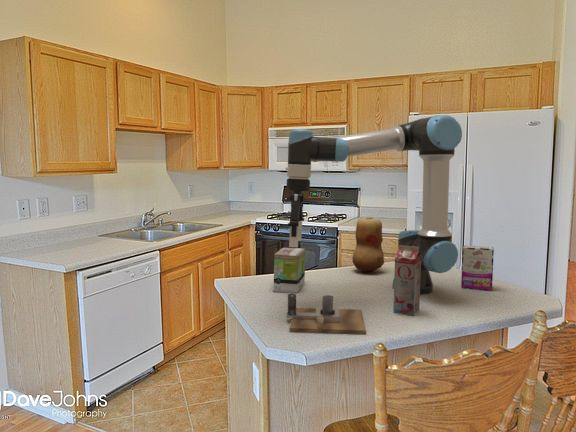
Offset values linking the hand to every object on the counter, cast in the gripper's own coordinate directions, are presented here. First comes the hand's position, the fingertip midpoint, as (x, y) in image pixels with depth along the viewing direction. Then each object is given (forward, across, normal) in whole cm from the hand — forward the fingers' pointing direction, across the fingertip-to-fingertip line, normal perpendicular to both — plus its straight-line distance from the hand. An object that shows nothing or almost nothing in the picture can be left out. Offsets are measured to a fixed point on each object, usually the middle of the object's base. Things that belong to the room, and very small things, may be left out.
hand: (295, 243), depth 141 cm
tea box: (+23, -28, -4) cm, 36 cm away
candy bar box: (+19, -34, +69) cm, 79 cm away
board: (+22, +9, +12) cm, 27 cm away
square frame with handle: (+21, +9, +7) cm, 24 cm away
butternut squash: (+21, -55, +29) cm, 66 cm away
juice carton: (+21, -3, +38) cm, 43 cm away
